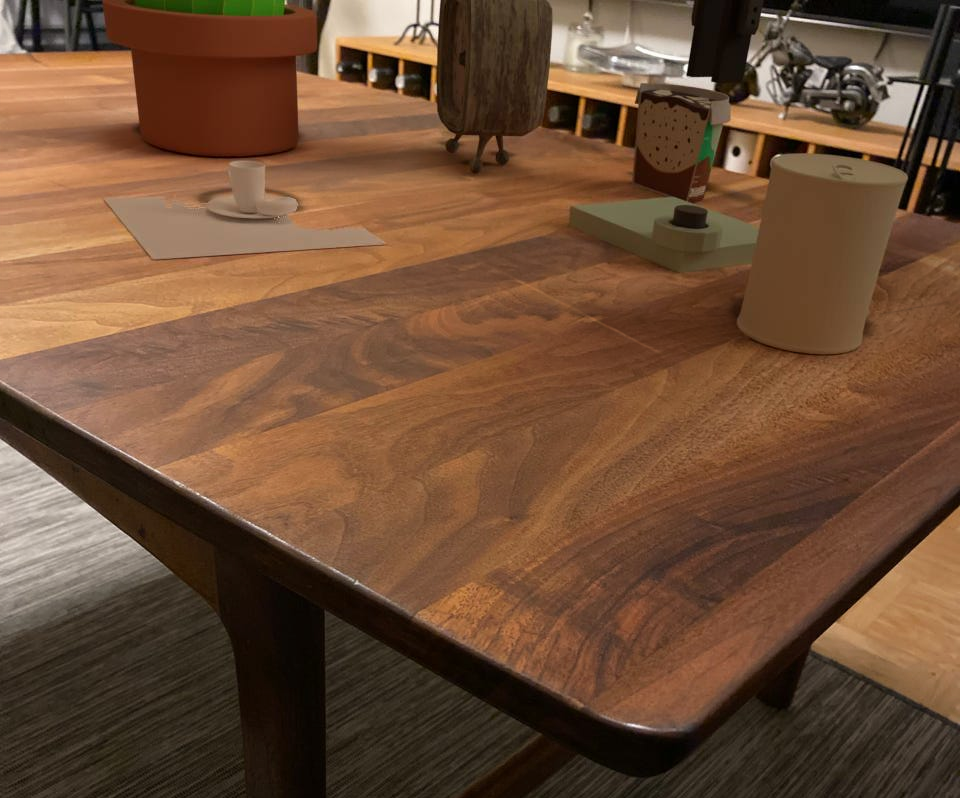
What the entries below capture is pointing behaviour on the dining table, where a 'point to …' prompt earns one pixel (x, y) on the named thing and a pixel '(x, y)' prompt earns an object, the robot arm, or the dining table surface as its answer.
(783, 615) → the dining table surface
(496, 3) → the tabletop clock
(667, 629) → the dining table surface
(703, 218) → the tare button
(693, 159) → the food container
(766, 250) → the can
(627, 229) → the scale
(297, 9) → the potted cactus
